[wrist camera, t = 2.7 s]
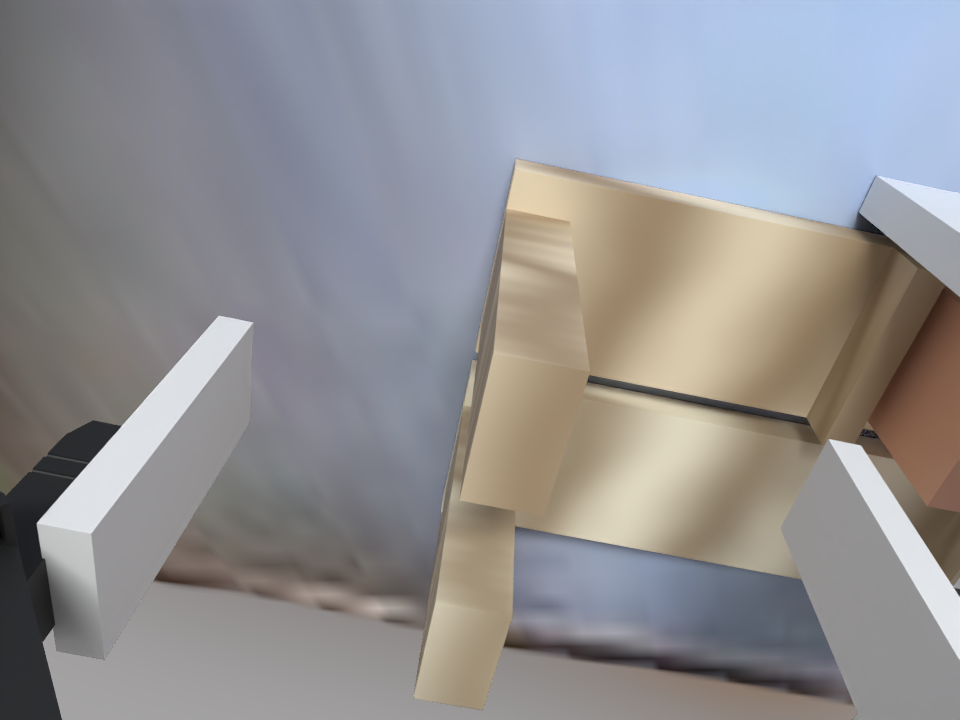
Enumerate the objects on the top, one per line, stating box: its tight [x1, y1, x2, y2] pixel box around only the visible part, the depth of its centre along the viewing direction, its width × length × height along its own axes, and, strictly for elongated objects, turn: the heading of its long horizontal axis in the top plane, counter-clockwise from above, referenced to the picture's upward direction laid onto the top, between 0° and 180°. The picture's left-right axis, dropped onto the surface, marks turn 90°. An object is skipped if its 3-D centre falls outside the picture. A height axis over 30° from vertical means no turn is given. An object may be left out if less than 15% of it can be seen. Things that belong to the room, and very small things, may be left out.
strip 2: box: [414, 360, 960, 710], centre depth 24 cm, size 20×6×10 cm, turn 79°
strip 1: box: [459, 159, 945, 516], centre depth 20 cm, size 20×6×10 cm, turn 79°
